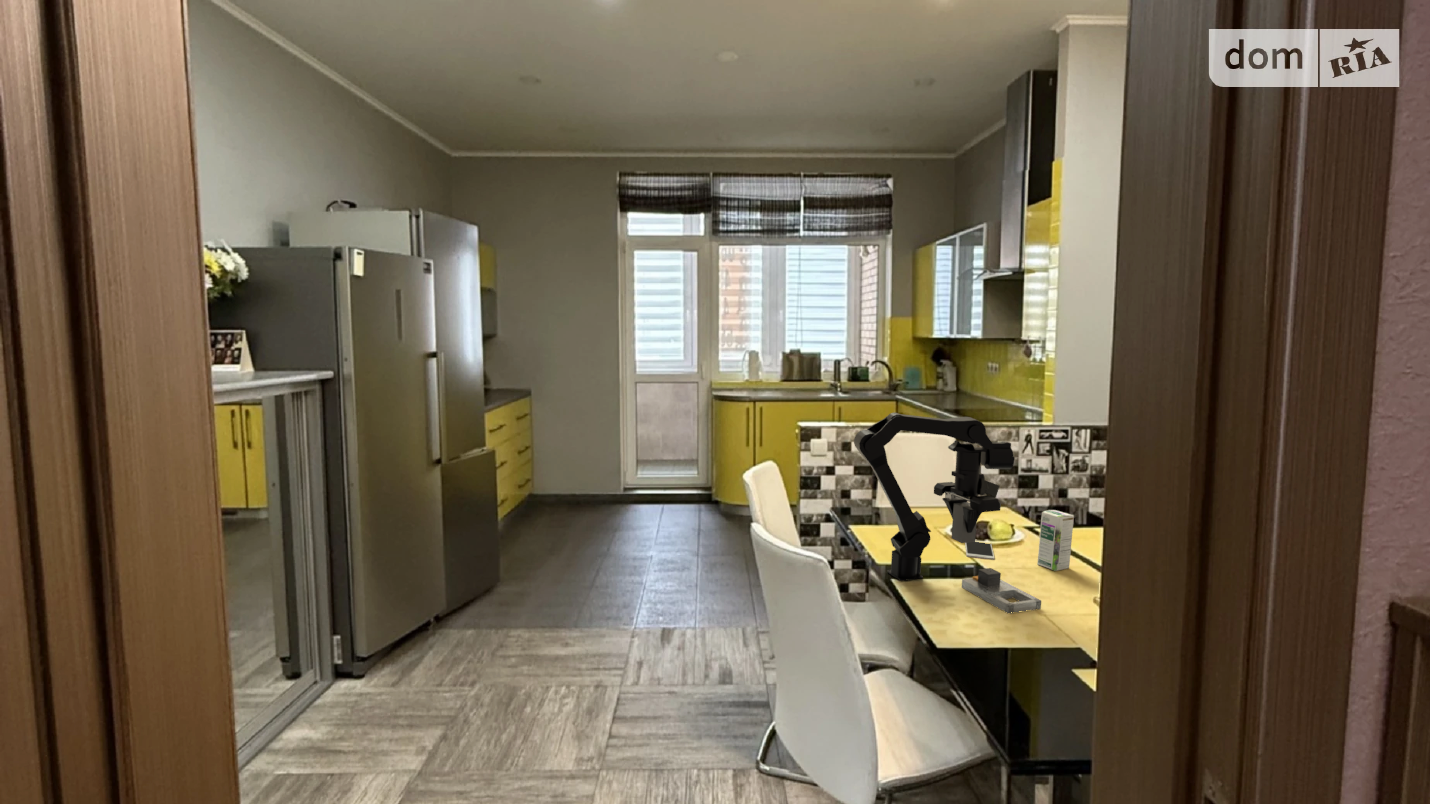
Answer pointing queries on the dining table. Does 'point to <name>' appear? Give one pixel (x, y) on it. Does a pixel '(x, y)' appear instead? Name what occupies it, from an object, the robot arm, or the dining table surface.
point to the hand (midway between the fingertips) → (963, 530)
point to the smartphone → (979, 550)
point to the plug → (961, 525)
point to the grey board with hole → (999, 592)
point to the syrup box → (1055, 540)
